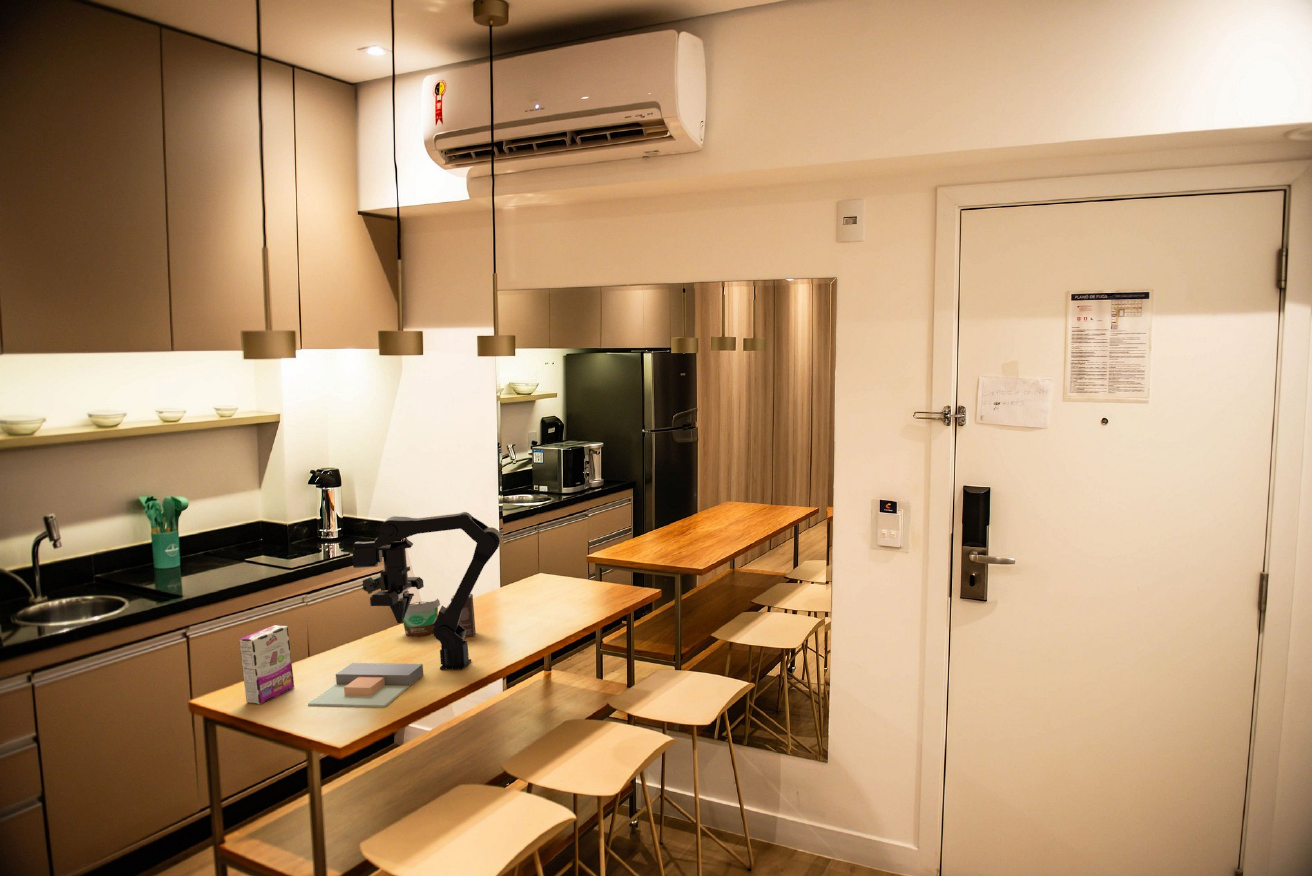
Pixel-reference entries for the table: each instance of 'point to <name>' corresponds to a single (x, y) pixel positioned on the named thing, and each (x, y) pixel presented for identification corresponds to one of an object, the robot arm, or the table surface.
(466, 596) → the robot arm
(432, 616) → the food container
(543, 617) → the table surface
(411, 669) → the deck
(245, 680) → the candy bar box
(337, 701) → the mat
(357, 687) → the coaster
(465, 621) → the box
